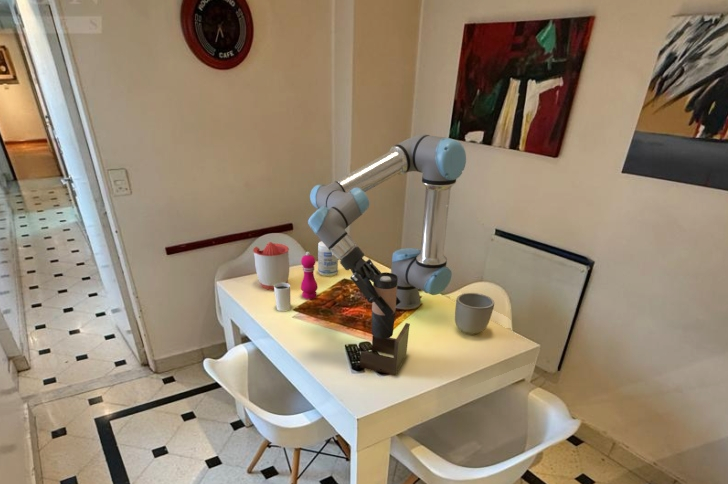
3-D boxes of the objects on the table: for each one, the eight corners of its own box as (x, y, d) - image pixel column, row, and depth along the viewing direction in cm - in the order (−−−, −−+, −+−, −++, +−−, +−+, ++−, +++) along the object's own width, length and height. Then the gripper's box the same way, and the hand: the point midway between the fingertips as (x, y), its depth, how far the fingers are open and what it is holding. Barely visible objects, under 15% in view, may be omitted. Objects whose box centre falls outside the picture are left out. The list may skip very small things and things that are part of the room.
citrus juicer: (275, 275, 222) (272, 233, 211) (297, 285, 212) (295, 242, 200) (248, 283, 214) (243, 240, 202) (269, 295, 204) (265, 250, 192)
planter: (464, 319, 187) (469, 289, 179) (494, 331, 179) (501, 300, 171) (444, 330, 179) (449, 299, 171) (475, 343, 171) (481, 312, 163)
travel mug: (392, 340, 151) (396, 282, 139) (369, 337, 152) (371, 280, 140) (394, 329, 157) (399, 273, 145) (372, 327, 158) (375, 271, 146)
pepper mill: (320, 295, 204) (320, 250, 192) (311, 301, 199) (309, 255, 187) (307, 291, 207) (306, 247, 195) (298, 297, 202) (295, 252, 190)
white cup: (287, 312, 190) (286, 290, 184) (273, 310, 192) (270, 287, 186) (294, 306, 195) (292, 283, 189) (279, 303, 197) (278, 281, 191)
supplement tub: (325, 278, 220) (324, 247, 211) (314, 272, 226) (313, 242, 217) (341, 274, 224) (342, 244, 216) (330, 268, 231) (330, 238, 222)
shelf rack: (372, 348, 167) (374, 317, 160) (406, 355, 164) (409, 323, 156) (360, 367, 157) (361, 334, 149) (395, 375, 153) (398, 342, 146)
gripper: (351, 250, 153) (394, 302, 158) (327, 271, 138) (376, 329, 143) (366, 236, 148) (410, 290, 153) (343, 256, 133) (393, 316, 138)
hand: (394, 309), depth 148 cm, fingers closed on travel mug, 7 cm apart
